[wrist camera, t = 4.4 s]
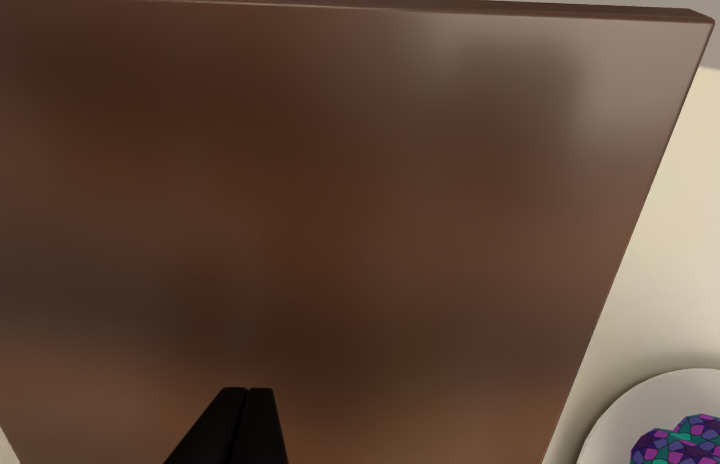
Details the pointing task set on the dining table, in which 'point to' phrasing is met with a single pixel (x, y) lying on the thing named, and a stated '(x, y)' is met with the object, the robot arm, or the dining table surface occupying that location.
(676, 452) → the pudding
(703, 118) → the dining table surface
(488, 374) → the lid
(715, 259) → the dining table surface
